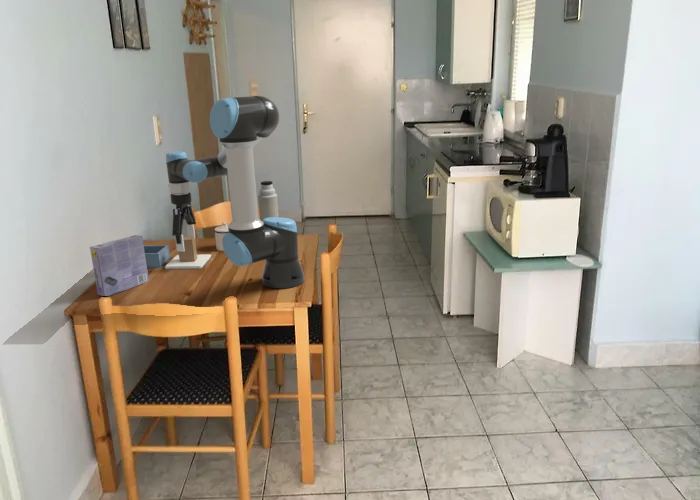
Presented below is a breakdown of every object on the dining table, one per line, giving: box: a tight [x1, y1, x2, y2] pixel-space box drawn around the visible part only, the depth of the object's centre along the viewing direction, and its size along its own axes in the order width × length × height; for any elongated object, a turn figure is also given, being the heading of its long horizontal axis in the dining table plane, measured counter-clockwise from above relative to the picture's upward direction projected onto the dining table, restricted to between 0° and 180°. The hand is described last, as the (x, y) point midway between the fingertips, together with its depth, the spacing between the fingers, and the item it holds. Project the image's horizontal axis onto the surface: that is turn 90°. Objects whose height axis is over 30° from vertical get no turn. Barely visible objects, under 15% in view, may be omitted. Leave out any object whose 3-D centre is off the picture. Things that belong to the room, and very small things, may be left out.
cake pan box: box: [89, 234, 149, 297], centre depth 201 cm, size 19×5×18 cm, turn 145°
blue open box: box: [144, 244, 171, 269], centre depth 227 cm, size 11×11×6 cm
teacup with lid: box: [213, 221, 230, 252], centre depth 243 cm, size 12×9×12 cm
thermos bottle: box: [257, 180, 279, 222], centre depth 242 cm, size 8×8×28 cm
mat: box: [163, 255, 214, 271], centre depth 227 cm, size 16×15×1 cm
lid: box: [164, 236, 212, 269], centre depth 225 cm, size 14×14×10 cm
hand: (186, 245), depth 225 cm, fingers open, 13 cm apart
